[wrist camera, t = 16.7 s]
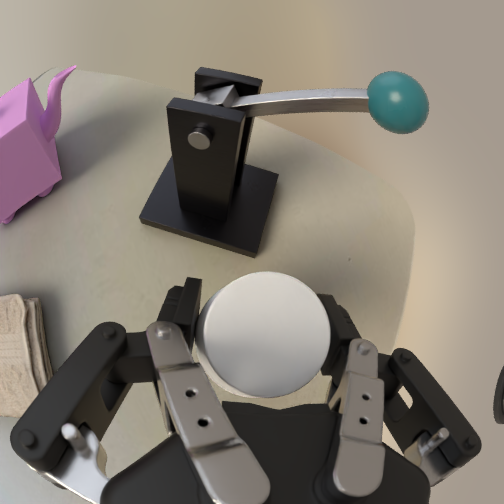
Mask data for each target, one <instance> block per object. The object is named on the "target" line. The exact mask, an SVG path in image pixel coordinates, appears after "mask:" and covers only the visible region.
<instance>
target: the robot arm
mask: <svg viewBox="0 0 504 504" xmlns="http://www.w3.org/2000/svg"><path fill="white" fill-rule="evenodd" d="M201 287H202V279H197V278H190V277H187V279H186V282H185V285H184V287H181V286H174V287H173V288H171V289H170V290H169V291H168V293H167V296H166V298H165V301H164V304H163V306H162V308H161V311H160V313H159V316H158V318H157V321H156V322H154V323H152V324H150V325H149V326H148V327H147V330H146V331H144V332H136V333H126V330H125V328H124V327H123V326H122V325H120V324H118V323H115V322H104V323H101V324H99V325H97V326H96V327H95V328H94V329H93V330H92V331H91V333H90V334H89V335H88V336H87V337H86V338H85V339H84V340H83V341H82V343H81V344H80V345H79V346H78V347H77V348H76V349H75V351H74V352H73V353H72V354H71V355H70V356H69V358H68V359H67V360H66V361H65V362H64V363H63V365H62V366H61V367H60V368H59V369H58V371H57V372H56V373H55V374H54V375H53V377H52V378H51V379H50V380H49V382H48V383H47V384H46V385H45V387H44V388H43V389H42V390H41V392H40V393H39V394H38V395H37V397H36V398H35V399H34V401H33V402H32V403H31V404H30V406H29V407H28V408H27V410H26V411H25V412H24V414H23V415H22V416H21V418H20V419H19V420H18V422H17V423H16V425H15V426H14V427H13V429H12V431H11V435H10V442H11V446H12V448H13V450H14V451H15V453H16V454H17V455H18V456H19V457H21V458H22V459H23V460H24V461H25V462H26V463H27V464H28V465H29V466H30V467H31V468H32V469H33V470H34V471H36V472H37V473H38V474H39V475H41V476H42V477H43V478H45V479H46V480H48V481H49V482H51V483H53V484H54V485H55V486H57V487H59V488H61V489H68V490H70V491H71V492H73V493H74V494H76V495H78V496H80V497H81V498H83V499H85V500H87V501H88V502H90V503H92V504H429V498H430V487H433V486H435V485H436V484H438V483H439V482H441V481H443V480H444V479H445V478H447V477H448V476H450V475H451V474H453V473H454V472H455V471H457V470H458V469H459V468H461V467H462V466H464V465H465V464H466V463H467V462H469V461H470V460H471V459H472V458H474V457H475V456H476V455H477V454H478V453H479V452H480V450H481V440H480V438H479V436H478V435H477V433H476V432H475V430H474V429H473V427H472V426H471V425H470V424H469V422H468V421H467V419H466V418H465V417H464V415H463V414H462V413H461V412H460V410H459V409H458V408H457V406H456V405H455V404H454V403H453V401H452V400H451V399H450V397H449V396H448V395H447V394H446V392H445V391H444V390H443V389H442V387H441V386H440V385H439V384H438V382H437V381H436V380H435V379H434V377H433V376H432V375H431V374H430V373H429V372H428V370H427V369H426V368H425V367H424V366H423V364H422V363H421V362H420V361H419V360H418V359H417V357H416V356H415V355H414V354H413V353H412V352H411V351H409V350H407V349H404V348H397V349H395V350H394V351H393V353H392V355H391V356H390V355H386V354H381V353H378V350H377V348H376V346H375V345H374V344H373V343H371V342H370V341H368V340H365V339H362V338H361V336H360V335H359V333H358V331H357V329H356V327H355V325H354V324H353V322H352V320H351V319H350V316H349V314H348V313H347V311H346V310H345V309H344V308H343V307H342V306H340V305H337V303H336V301H335V299H334V298H333V296H332V295H327V294H317V296H318V298H319V299H320V301H321V302H322V304H323V306H324V308H325V310H326V313H327V315H328V319H329V324H330V346H329V351H328V354H327V357H326V359H325V361H324V364H323V365H322V367H321V369H320V370H321V373H322V375H331V376H332V379H331V381H330V383H329V386H328V390H327V394H326V398H325V402H324V404H303V405H299V406H295V407H290V408H286V409H281V410H277V409H272V408H268V407H263V406H259V405H255V404H252V403H241V402H228V401H222V405H221V403H220V402H219V400H218V398H217V396H216V394H215V392H214V390H213V388H212V386H211V384H210V382H209V379H208V377H207V375H206V373H205V371H204V369H203V367H202V365H201V364H200V363H199V362H198V363H195V362H194V360H193V358H192V355H191V354H192V349H193V343H194V338H195V329H196V324H197V320H198V317H199V309H200V298H201ZM141 382H152V383H153V387H154V390H155V393H156V397H157V400H158V403H159V407H160V410H161V413H162V417H163V421H164V425H165V428H166V431H167V434H168V438H167V439H165V440H164V441H163V442H161V443H160V444H159V445H157V446H156V447H155V448H153V449H152V450H151V451H149V452H148V453H147V454H145V455H144V456H143V457H141V458H140V459H138V460H137V461H136V462H134V463H133V464H131V465H130V466H129V467H127V468H126V469H124V470H123V471H121V472H120V473H118V474H117V475H115V476H114V477H112V478H111V479H109V478H107V476H106V473H105V466H106V462H107V454H106V451H105V449H104V448H103V446H102V445H101V443H100V441H101V439H102V438H103V436H104V434H105V432H106V430H107V428H108V427H109V425H110V423H111V421H112V420H113V418H114V416H115V414H116V412H117V411H118V409H119V407H120V405H121V404H122V402H123V400H124V398H125V397H126V395H127V393H128V391H129V390H130V388H131V386H132V385H133V383H141ZM402 386H404V387H405V389H406V390H407V391H408V393H409V394H410V395H411V397H412V399H413V404H412V406H411V408H410V409H409V408H408V406H407V405H406V403H405V402H404V400H403V399H402V398H401V396H400V395H399V393H398V391H399V389H401V387H402ZM502 412H503V415H504V390H503V396H502ZM383 421H384V423H385V424H386V426H387V428H388V429H389V431H390V433H391V434H392V436H393V438H394V439H395V441H396V442H397V444H398V446H399V447H400V449H401V451H402V453H403V454H404V457H403V456H402V455H400V454H399V453H398V452H396V451H394V450H393V449H392V448H390V447H389V446H387V445H386V444H385V443H383V442H382V428H383Z"/></svg>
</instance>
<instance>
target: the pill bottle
mask: <svg viewBox="0 0 504 504" xmlns="http://www.w3.org/2000/svg"><path fill="white" fill-rule="evenodd" d="M329 346H330V324H329V319H328V315H327V313H326V310H325V308H324V306H323V304H322V302H321V301H320V299H319V298H318V296H317V295H316V294H315V293H314V292H313V291H312V290H311V289H310V288H309V287H308V286H307V285H305V284H304V283H303V282H301V281H300V280H298V279H296V278H294V277H292V276H289V275H286V274H283V273H278V272H268V271H265V272H255V273H251V274H248V275H245V276H242V277H240V278H238V279H236V280H234V281H233V282H231V283H230V284H228V285H227V286H225V287H223V288H222V289H220V290H219V291H217V292H216V293H215V294H214V295H213V296H212V297H211V298H210V299H209V300H208V302H207V303H206V304H205V306H204V307H203V309H202V311H201V313H200V315H199V317H198V320H197V324H196V329H195V347H196V353H197V356H198V359H199V361H200V363H201V365H202V367H203V369H204V370H205V372H206V373H207V375H208V376H209V377H210V378H211V379H212V380H213V381H214V382H215V383H216V384H217V385H219V386H220V387H221V388H223V389H224V390H226V391H228V392H230V393H233V394H235V395H239V396H243V397H249V398H274V397H280V396H284V395H287V394H290V393H293V392H295V391H297V390H299V389H300V388H302V387H303V386H305V385H306V384H307V383H308V382H310V381H311V380H312V379H313V378H314V377H315V375H316V374H317V373H318V372H319V370H320V369H321V367H322V365H323V364H324V361H325V359H326V357H327V354H328V351H329Z"/></svg>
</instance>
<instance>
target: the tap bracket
mask: <svg viewBox="0 0 504 504" xmlns="http://www.w3.org/2000/svg"><path fill="white" fill-rule="evenodd" d="M262 82H263V81H262V79H258V78H254V77H250V76H245V75H241V74H236V73H232V72H226V71H221V70H215V69H210V68H204V67H200V68H199V69H198V70H197V71H196V72H195V96H196V94H197V93H200V92H204V91H208V90H212V89H217V88H221V87H226V86H231V85H234V86H235V88H236V90H237V93H238V95H239V97H244V96H251V95H258V94H260V91H261V86H262ZM166 108H167V117H168V127H169V135H170V143H171V151H172V156H171V158H170V160H169V162H168V163H167V165H166V167H165V169H164V170H163V172H162V174H161V176H160V178H159V179H158V181H157V183H156V185H155V187H154V189H153V191H152V193H151V194H150V196H149V198H148V200H147V202H146V204H145V206H144V208H143V210H142V212H141V214H140V216H139V218H140V221H141V223H143V224H146V225H149V226H152V227H155V228H159V229H162V230H165V231H168V232H172V233H175V234H178V235H181V236H184V237H188V238H191V239H194V240H197V241H201V242H204V243H207V244H210V245H213V246H217V247H220V248H223V249H226V250H230V251H233V252H236V253H239V254H243V255H246V256H249V257H252V258H255V256H256V254H257V250H258V247H259V243H260V240H261V236H262V233H263V229H264V225H265V222H266V218H267V215H268V211H269V208H270V204H271V200H272V197H273V193H274V190H275V186H276V183H277V179H278V175H279V174H277V173H273V172H270V171H267V170H264V169H261V168H257V167H254V166H251V165H247V164H245V161H246V156H247V151H248V147H249V142H250V137H251V132H252V127H253V123H254V118H255V117H246V118H245V116H246V112H242V111H239V110H234V109H230V108H226V107H222V106H217V105H213V104H208V103H203V102H198V101H192V100H187V99H181V98H175V97H174V98H173V99H172V100H171V101H170V103H169V104H168V105H167V107H166Z"/></svg>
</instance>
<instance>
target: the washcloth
mask: <svg viewBox="0 0 504 504" xmlns="http://www.w3.org/2000/svg"><path fill="white" fill-rule="evenodd" d="M52 377H53V374H52V369H51V365H50V360H49V356H48V352H47V347H46V340H45V332H44V326H43V318H42V310H41V303H40V299H39V298H33V297H32V298H30V299H23V298H22V296H21V295H19V294H9V295H5V296H0V416H4V417H9V416H12V417H15V418H16V417H18V418H21V416H22V415H23V414H24V412H25V411H26V410H27V408H28V407H29V406H30V404H31V403H32V402H33V401H34V399H35V398H36V397H37V395H38V394H39V393H40V392H41V390H42V389H43V388H44V387H45V385H46V384H47V383H48V382H49V380H50V379H51V378H52Z"/></svg>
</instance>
